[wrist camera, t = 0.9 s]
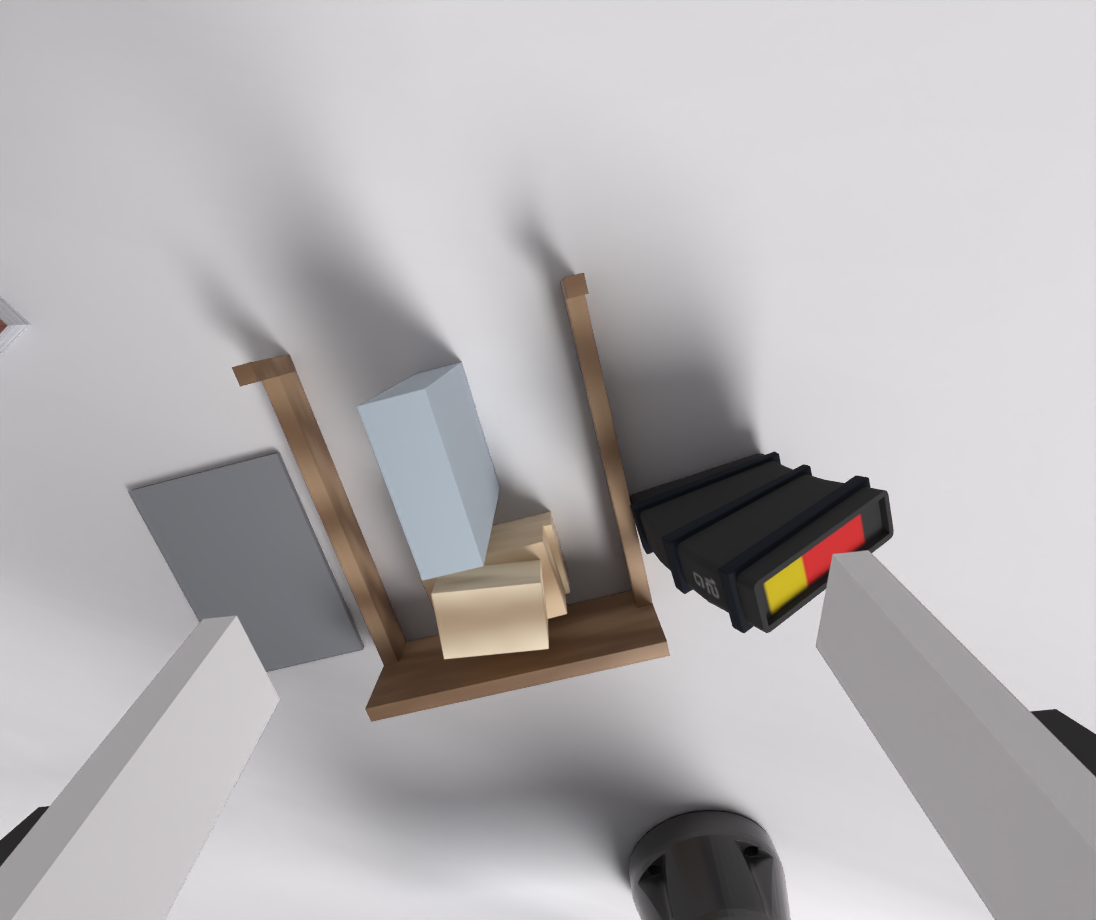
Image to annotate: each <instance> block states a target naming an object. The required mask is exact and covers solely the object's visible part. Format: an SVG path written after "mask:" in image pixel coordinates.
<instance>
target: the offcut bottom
mask: <svg viewBox="0 0 1096 920" xmlns="http://www.w3.org/2000/svg"><path fill="white" fill-rule="evenodd" d="M541 523H543V525H544V528H545V531H546V534H547V537H548V541H549V544H550V547H551V550H552V553H553V556H554V559H555V562H556V565H557V568H558V571H559V574H560V577H561V580H562V583H563V586H564V589H565V594H567V593H570V585H569V576H568V572H567V569H566V565H565V561H564V558H563V554H562V551H561V547H560V543H559V540H558V536H557V533H556V529H555V525H554V522H553V518H552V515H551V511H550V512H546V513H542V514H538V515H534V516H530V517H526V518H522V519H518V520H513V521H509V522H505V523H501V524H497V525H493V526H492V529H491V534H490V538H492V537H495V536H499V535H502V534H506V533H509V532H513V531H516V530H520V529H524V528H527V527H531V526H534V525H538V524H541Z"/></svg>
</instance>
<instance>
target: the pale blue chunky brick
mask: <svg viewBox="0 0 1096 920" xmlns="http://www.w3.org/2000/svg"><path fill="white" fill-rule="evenodd" d="M357 409H358V411H359V414H360V417H361V419H362V422H363V425H364V427H365V430H366V433H367V435H368V438H369V441H370V443H371V446H372V449H373V451H374V454H375V457H376V459H377V462H378V465H379V467H380V470H381V473H382V475H383V478H384V480H385V483H386V486H387V488H388V491H389V494H390V496H391V499H392V502H393V504H394V507H395V510H396V512H397V515H398V518H399V520H400V523H401V526H402V528H403V531H404V534H405V536H406V539H407V542H408V544H409V547H410V549H411V552H412V555H413V557H414V560H415V563H416V565H417V568H418V571H419V573H420V576H421V579H422V581H423V580H427V579H431V578H435V577H440V576H444V575H448V574H452V573H457V572H461V571H465V570H469V569H473V568H478V567H482V566H484V562H485V557H486V552H487V548H488V543H489V538H490V534H491V529H492V524H493V519H494V515H495V510H496V505H497V501H498V496H499V491H500V486H499V483H498V480H497V476H496V473H495V470H494V466H493V463H492V460H491V456H490V453H489V450H488V447H487V443H486V440H485V437H484V433H483V430H482V427H481V423H480V420H479V417H478V414H477V410H476V407H475V404H474V400H473V397H472V394H471V390H470V387H469V384H468V381H467V377H466V374H465V371H464V367H463V364H462V362H459V363H455V364H452V365H448V366H444V367H440V368H436V369H433V370H429V371H425V372H421V373H417V374H414V375H413V376H411V377H409V378H407V379H405V380H404V381H402V382H400V383H398V384H396V385H395V386H393V387H391V388H389V389H387V390H386V391H384V392H382V393H380V394H378V395H377V396H375V397H373V398H371V399H369V400H368V401H366V402H364V403H362V404H360V405H359V406H357Z"/></svg>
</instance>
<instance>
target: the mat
mask: <svg viewBox="0 0 1096 920" xmlns="http://www.w3.org/2000/svg"><path fill="white" fill-rule="evenodd" d="M128 493H129V494H130V496H131V498H132V500H133V502H134V504H135V505H136V507H137V509H138V511H139V513H140V515H141V516H142V518H143V520H144V522H145V524H146V525H147V527H148V529H149V531H150V533H151V535H152V536H153V538H154V540H155V542H156V544H157V546H158V547H159V549H160V551H161V553H162V555H163V556H164V558H165V560H166V562H167V564H168V566H169V567H170V569H171V571H172V573H173V575H174V577H175V578H176V580H177V582H178V584H179V586H180V587H181V589H182V591H183V593H184V595H185V597H186V598H187V600H188V602H189V604H190V606H191V608H192V609H193V611H194V613H195V615H196V617H197V618H198V620H199V622H201V621H202V620H203V619H208V618H217V617H227V616H237V617H238V619H239V621H240V623H241V625H242V627H243V629H244V631H245V632H246V634H247V636H248V638H249V640H250V642H251V644H252V646H253V648H254V650H255V652H256V654H257V656H258V658H259V660H260V661H261V663H262V665H263V667H264V669H265V671H266V672H268V671H272V670H277V669H281V668H285V667H290V666H294V665H298V664H303V663H307V662H311V661H316V660H320V659H325V658H329V657H333V656H338V655H342V654H346V653H351V652H355V651H359V650H363V648H364V645H363V643H362V640H361V638H360V636H359V634H358V631H357V629H356V627H355V624H354V622H353V620H352V618H351V615H350V613H349V611H348V608H347V606H346V604H345V602H344V599H343V597H342V595H341V592H340V590H339V588H338V586H337V583H336V581H335V579H334V576H333V574H332V572H331V570H330V567H329V565H328V563H327V560H326V558H325V556H324V554H323V551H322V549H321V547H320V544H319V542H318V540H317V538H316V535H315V533H314V531H313V528H312V526H311V524H310V522H309V519H308V517H307V515H306V512H305V510H304V508H303V506H302V503H301V501H300V499H299V496H298V494H297V492H296V490H295V487H294V485H293V483H292V481H291V478H290V476H289V474H288V471H287V469H286V467H285V465H284V462H283V460H282V458H281V455H280V453H279V452H277V453H274V454H270V455H266V456H262V457H258V458H254V459H250V460H246V461H242V462H239V463H235V464H231V465H227V466H223V467H219V468H215V469H211V470H207V471H204V472H200V473H196V474H192V475H188V476H184V477H180V478H176V479H172V480H168V481H165V482H161V483H157V484H153V485H149V486H145V487H141V488H137V489H133V490H131V491H128Z"/></svg>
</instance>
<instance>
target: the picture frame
mask: <svg viewBox="0 0 1096 920" xmlns="http://www.w3.org/2000/svg"><path fill="white" fill-rule="evenodd" d="M29 326H30V324H29V323H28V322H27V321H26V320H25V319H24V318H23V317H22V316H21V315H20V314H19V313H18V312H17V311H15V310H14V309H13V308H12V307H11V306H10V305H9V304H8V303H7V302H6V301H5V300H4V299H3V298H2V297H1V296H0V356H1V355H2V354H3V353H4V352H5V350H6V349H7V348H8V347H9V346H10V345H11V344H12V343H13V342H14V341H15V340H16V339H17V338H18V337H19V336H20V335H21V334H22V333H23V332H24V331H25V330H26V329H27V328H28V327H29Z"/></svg>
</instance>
